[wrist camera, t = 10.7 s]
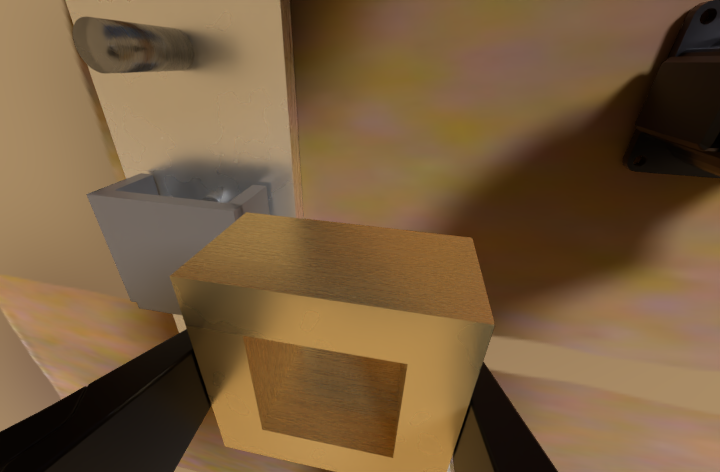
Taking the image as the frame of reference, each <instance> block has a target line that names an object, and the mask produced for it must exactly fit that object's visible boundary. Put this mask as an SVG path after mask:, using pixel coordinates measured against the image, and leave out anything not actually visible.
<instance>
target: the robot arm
mask: <svg viewBox="0 0 720 472" xmlns="http://www.w3.org/2000/svg"><path fill="white" fill-rule="evenodd" d="M706 10H708V12H709V16H708V19H707V20H706V21H705V22H704V23H703V24H701V22H700V17H701V15H702V14H703V12H704V11H706ZM635 125H636V127H637V128H636V131H635V133H634V135H633V137H632V140H631V142H630V144H629V146H628V149H627V151H626V153H625V155H624V158H623V165H624V166H625V167H626V168H628V169H629V170H632V171H636V172H649V173H661V174H674V175H686V176H699V177H711V178H720V0H713V1H708V2H703V3H700V4H698V5H697V6H695V7H694V8H693V9H692V10H691V11H690V12H689V13H688V15H687V16H686V18H685V20H684V23H683V25H682V27H681V29H680V32H679V34H678V36H677V38H676V41H675V43H674V45H673V47H672V50H671V52H670V54H669V56H668V59H667V60H666V61H664V62H663V63H662V64H661V66H660V68H659V71H658V73H657V75H656V78H655V80H654V82H653V84H652V87H651V89H650V91H649V93H648V96H647V98H646V100H645V103H644V105H643V107H642V109H641V112H640V114H639V116H638V118H637V121H636V123H635ZM638 156H642V157H641V160H640V161H639V162H638V163H636V164H633V162H634V159H635V158H636V157H638ZM210 407H211V402H210V399H209V396H208V393H207V390H206V387H205V383H204V380H203V377H202V374H201V371H200V368H199V365H198V362H197V359H196V356H195V353H194V350H193V347H192V343H191V340H190V337H189V334H188V331H187V329H186V330H184V331H182V332H180V333H179V334H177V335H175V336H173V337H172V338H170V339H168V340H166V341H164V342H163V343H161V344H159V345H157V346H156V347H154V348H152V349H150V350H149V351H147V352H145V353H143V354H141V355H140V356H138V357H136V358H134V359H133V360H131V361H129V362H127V363H126V364H124V365H122V366H120V367H118V368H117V369H115V370H113V371H111V372H110V373H108V374H106V375H104V376H103V377H101V378H99V379H97V380H95V381H94V382H92V383H90V384H89V385H88V386H87V387H86V386H85V387H83V388H81V389H79V390H78V391H76V392H74V393H72V394H71V395H69V396H67V397H65V398H63V399H62V400H60V401H58V402H56V403H54V404H52V405H51V406H49V407H47V408H45V409H43V410H41V411H40V412H38V413H36V414H34V415H32V416H30V417H28V418H26V419H25V420H22V421H20V422H18V423H16V424H15V425H13V426H11V427H9V428H7V429H5V430H3V431H1V432H0V472H174V470H175V469H176V467H177V465H178V463H179V461H180V460H181V458H182V456H183V454H184V453H185V451H186V449H187V447H188V446H189V444H190V442H191V440H192V438H193V437H194V435H195V433H196V431H197V430H198V428H199V426H200V424H201V423H202V421H203V419H204V417H205V415H206V414H207V412H208V410H209V408H210ZM453 462H454V471H455V472H558V471H557V469H556V468H555V466H554V465H553V463H552V462H551V461H550V459H549V458H548V456H547V455H546V453H545V452H544V450H543V449H542V447H541V446H540V444H539V443H538V441H537V440H536V438H535V437H534V435H533V434H532V433H531V431H530V430H529V428H528V427H527V425H526V424H525V422H524V421H523V419H522V418H521V416H520V415H519V413H518V412H517V410H516V409H515V407H514V406H513V405H512V403H511V402H510V400H509V399H508V397H507V396H506V394H505V393H504V391H503V390H502V388H501V387H500V385H499V384H498V382H497V381H496V379H495V378H494V377H493V375H492V374H491V372H490V371H489V369H488V368H487V366H486V365H485V363H484V362H483V363H482V366H481V369H480V372H479V375H478V378H477V381H476V385H475V388H474V391H473V394H472V397H471V400H470V403H469V406H468V409H467V412H466V415H465V418H464V421H463V424H462V427H461V430H460V433H459V436H458V439H457V442H456V446H455V449H454V452H453Z"/></svg>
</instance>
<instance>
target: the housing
mask: <svg viewBox="0 0 720 472" xmlns="http://www.w3.org/2000/svg"><path fill="white" fill-rule="evenodd" d="M87 197H88V199H89V202H90V204H91V206H92V209H93V211H94V214H95V216H96V218H97V221H98V223H99V226H100V228H101V230H102V233H103V235H104V237H105V240H106V242H107V245H108V247H109V249H110V252H111V254H112V257H113V259H114V261H115V264H116V266H117V269H118V271H119V273H120V276H121V278H122V281H123V283H124V285H125V288H126V290H127V293H128V295H129V297H130V300H131V302H137V304H138V307H139V308H141V309H147V310H153V311H159V312H165V313H171V314H176V315H182V313H181V310H180V307H179V303H178V300H177V297H176V294H175V291H174V288H173V285H172V282H171V279H170V275H172V274H173V273H174V272H175V271H176V270H178V269H179V268H180V267H181V266H182V265H184V264H185V263H186V262H187V261H188V260H190V259H191V258H192V257H193V256H194V255H196V254H197V253H198V252H199V251H200V250H202V249H203V248H204V247H205V246H206V245H208V244H209V243H210V242H211V241H212V240H214V239H215V238H216V237H217V236H218V235H220V234H221V233H222V232H223V231H224V230H226V229H227V228H228V227H229V226H230V225H232V224H233V223H234V222H235V221H236V220H238V219H239V218H240V217H241V216H242V215H244V214H245V213H246V212H249V213H258V214H267V215H270V213H269V204H268V196H267V187H266V186H261V185H252V186H250V187H249V188H248V189H246V190H245V191H243V192H242V193H241V194H239V195H238V196H236V197H235V198H233V199H232V200H231V201H229V202H228V203H222V202H213V201H204V200H195V199H186V198H178V197H169V196H160V195H159V194H158V191H157V187H156V184H155V180H154V177H153V174H143V173H140V174H138V175H135V176H132V177H130V178H127V179H125V180H122V181H120V182H117V183H115V184H112V185H109V186H107V187H104V188H102V189H99V190H97V191H94V192H92V193H89V194H87Z"/></svg>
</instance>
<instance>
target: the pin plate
mask: <svg viewBox="0 0 720 472" xmlns="http://www.w3.org/2000/svg"><path fill="white" fill-rule="evenodd" d="M65 1H66V4H67V7H68V10H69V13H70V16H71V19H72V22H73V25H74V26H73V41H74V44H75V47H76V49H77V51H78V53H79V55H80V57H81V58H82V59H83V61H84V62H85V63H86V64H87V66H88V69H89V71H90V74H91V77H92V80H93V83H94V86H95V89H96V92H97V95H98V98H99V101H100V104H101V106H102V109H103V112H104V115H105V118H106V121H107V124H108V127H109V130H110V133H111V136H112V139H113V142H114V144H115V147H116V150H117V153H118V156H119V159H120V162H121V165H122V168H123V171H124V174H125V177H126V179H127V178H130V177H132V176H135V175H138V174H140V173H143V174H153V177H154V180H155V184H156V187H157V191H158V194H159V195H160V196H169V197H178V198H186V199H195V200H204V201H213V202H222V203H228V202H229V201H231V200H232V199H233V198H235V197H236V196H238V195H239V194H241V193H242V192H243V191H245V190H246V189H248V188H249V187H250V186H252V185H261V186H266V187H267V196H268V204H269V213H270V215H275V216H284V217H293V218H302V219H303V205H302V188H301V172H300V155H299V138H298V122H297V105H296V89H295V72H294V56H293V39H292V23H291V6H290V0H65ZM173 317H174V320H175V322H176V325H177V328H178V331H179V333H180V332H182V331H184V330H186V329H187V328H186V325H185V322H184V319H183V316H182V315H176V314H173Z"/></svg>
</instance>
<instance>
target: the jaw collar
mask: <svg viewBox="0 0 720 472" xmlns="http://www.w3.org/2000/svg"><path fill="white" fill-rule="evenodd" d="M170 279H171V282H172V285H173V288H174V291H175V294H176V297H177V300H178V303H179V307H180V310H181V313H182V316H183V319H184V322H185V325H186V328H187V331H188V334H189V337H190V340H191V343H192V347H193V350H194V353H195V356H196V359H197V362H198V365H199V368H200V371H201V374H202V377H203V380H204V383H205V387H206V390H207V393H208V396H209V399H210V402H211V405H212V408H213V411H214V414H215V417H216V420H217V423H218V427H219V430H220V433H221V436H222V439H223V442H224V445H225V446H226V447H230V448H234V449H239V450H243V451H247V452H252V453H256V454H260V455H265V456H269V457H273V458H278V459H282V460H286V461H291V462H295V463H300V464H304V465H308V466H313V467H317V468H321V469H326V470H330V471H334V472H447V470H448V467H449V464H450V461H451V458H452V455H453V452H454V449H455V446H456V442H457V439H458V436H459V433H460V430H461V427H462V424H463V421H464V418H465V415H466V412H467V409H468V406H469V403H470V400H471V397H472V394H473V391H474V388H475V385H476V381H477V378H478V375H479V372H480V369H481V366H482V363H483V360H484V357H485V354H486V351H487V348H488V345H489V342H490V339H491V336H492V333H493V330H494V327H495V323H494V319H493V315H492V311H491V307H490V304H489V300H488V296H487V292H486V288H485V284H484V281H483V277H482V273H481V269H480V265H479V261H478V258H477V254H476V250H475V246H474V242H473V238H470V237H461V236H453V235H444V234H435V233H426V232H417V231H408V230H399V229H391V228H382V227H373V226H364V225H355V224H346V223H337V222H329V221H320V220H311V219H302V218H293V217H284V216H275V215H267V214H258V213H249V212H246V213H245V214H244V215H242V216H241V217H240V218H239V219H238V220H236V221H235V222H234V223H233V224H232V225H230V226H229V227H228V228H227V229H226V230H224V231H223V232H222V233H221V234H220V235H218V236H217V237H216V238H215V239H214V240H212V241H211V242H210V243H209V244H208V245H206V246H205V247H204V248H203V249H202V250H200V251H199V252H198V253H197V254H196V255H194V256H193V257H192V258H191V259H190V260H188V261H187V262H186V263H185V264H184V265H182V266H181V267H180V268H179V269H178V270H176V271H175V272H174V273H173V274H172V275H170Z"/></svg>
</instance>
